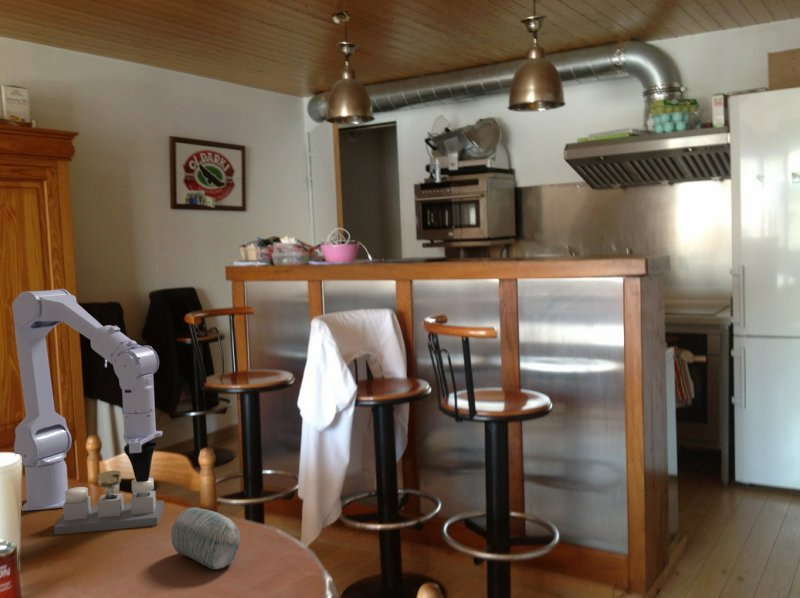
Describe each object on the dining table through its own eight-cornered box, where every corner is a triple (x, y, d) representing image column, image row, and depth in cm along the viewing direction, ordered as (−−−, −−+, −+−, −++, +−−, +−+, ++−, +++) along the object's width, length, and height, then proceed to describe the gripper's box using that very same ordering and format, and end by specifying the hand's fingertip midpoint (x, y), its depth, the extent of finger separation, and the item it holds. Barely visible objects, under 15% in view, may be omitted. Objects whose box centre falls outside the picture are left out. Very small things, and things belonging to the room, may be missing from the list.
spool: (150, 538, 126) (179, 485, 127) (196, 548, 132) (224, 497, 133) (182, 584, 116) (215, 525, 117) (231, 592, 122) (261, 537, 123)
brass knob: (101, 496, 146) (100, 471, 146) (123, 494, 147) (121, 470, 146) (97, 502, 142) (95, 477, 142) (119, 500, 143) (118, 475, 142)
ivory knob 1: (68, 512, 145) (67, 488, 145) (91, 510, 146) (89, 486, 145) (63, 519, 141) (62, 494, 141) (86, 517, 142) (85, 492, 141)
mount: (67, 516, 148) (66, 493, 147) (163, 507, 151) (162, 485, 151) (54, 534, 138) (53, 510, 138) (157, 525, 141) (156, 501, 141)
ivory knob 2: (134, 502, 147) (133, 478, 147) (155, 500, 148) (154, 476, 148) (131, 509, 143) (130, 484, 143) (153, 507, 144) (152, 482, 144)
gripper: (156, 417, 138) (160, 490, 139) (165, 402, 152) (168, 468, 153) (115, 420, 137) (119, 493, 138) (128, 404, 151) (131, 471, 152)
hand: (142, 480), depth 145 cm, fingers closed, pressing on ivory knob 2
